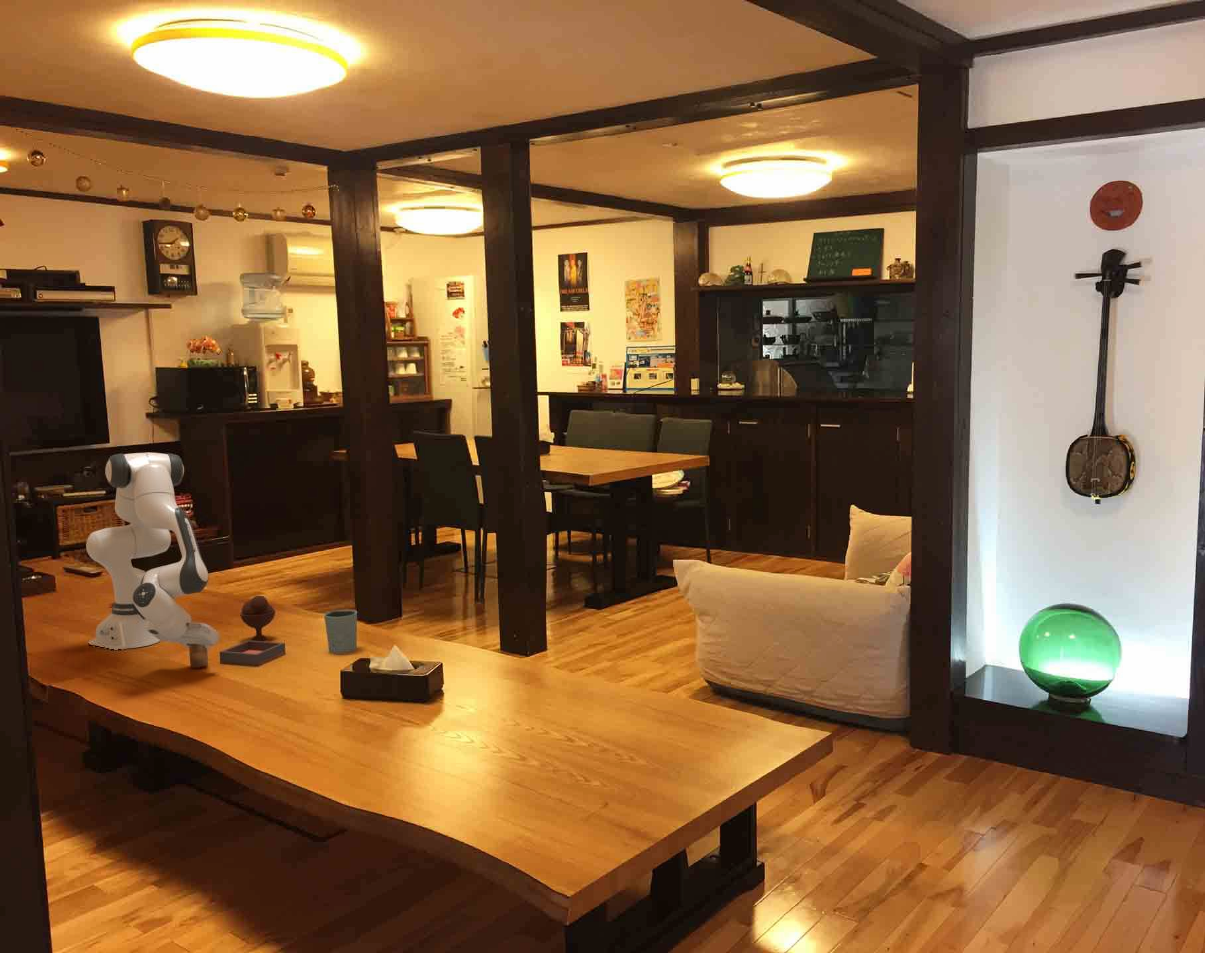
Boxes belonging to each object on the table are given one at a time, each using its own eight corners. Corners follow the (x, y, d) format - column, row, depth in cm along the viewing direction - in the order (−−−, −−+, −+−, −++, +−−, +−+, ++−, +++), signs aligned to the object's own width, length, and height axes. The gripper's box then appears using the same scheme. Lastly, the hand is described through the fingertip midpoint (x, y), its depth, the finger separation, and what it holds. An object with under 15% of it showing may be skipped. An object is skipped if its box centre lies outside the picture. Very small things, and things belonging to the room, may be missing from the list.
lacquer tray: (220, 663, 313) (219, 651, 312) (248, 651, 326) (248, 640, 325) (258, 666, 308) (257, 654, 308) (285, 653, 321) (284, 642, 321)
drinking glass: (339, 656, 317) (337, 618, 316) (319, 651, 323) (317, 614, 322) (365, 648, 325) (363, 611, 324) (345, 644, 331) (343, 607, 330)
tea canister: (186, 666, 307) (184, 633, 306) (198, 661, 312) (196, 629, 311) (200, 667, 306) (198, 635, 305) (212, 662, 311) (210, 630, 310)
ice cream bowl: (281, 635, 344) (279, 591, 342) (267, 644, 333) (265, 599, 331) (251, 635, 345) (248, 591, 343) (236, 644, 334) (233, 599, 332)
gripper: (208, 615, 297) (232, 639, 308) (151, 611, 304) (176, 635, 314) (199, 634, 294) (223, 658, 304) (141, 629, 300) (167, 653, 310)
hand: (199, 646), depth 309 cm, fingers closed on tea canister, 5 cm apart
